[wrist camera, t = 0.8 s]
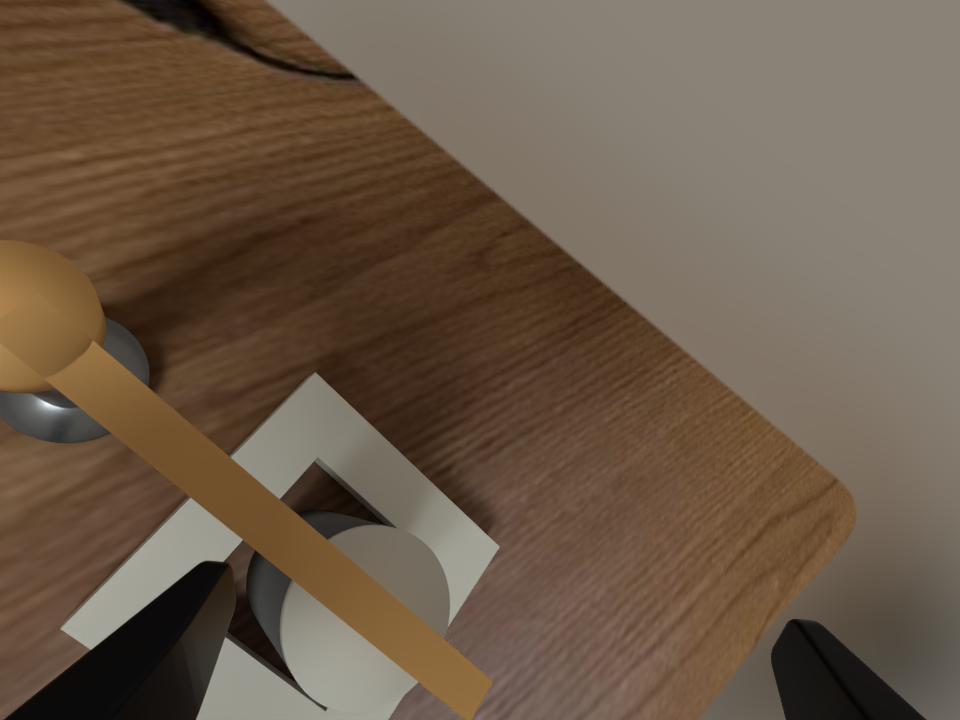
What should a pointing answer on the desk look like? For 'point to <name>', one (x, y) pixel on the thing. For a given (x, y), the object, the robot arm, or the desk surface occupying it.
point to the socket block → (277, 465)
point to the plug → (329, 640)
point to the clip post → (59, 415)
